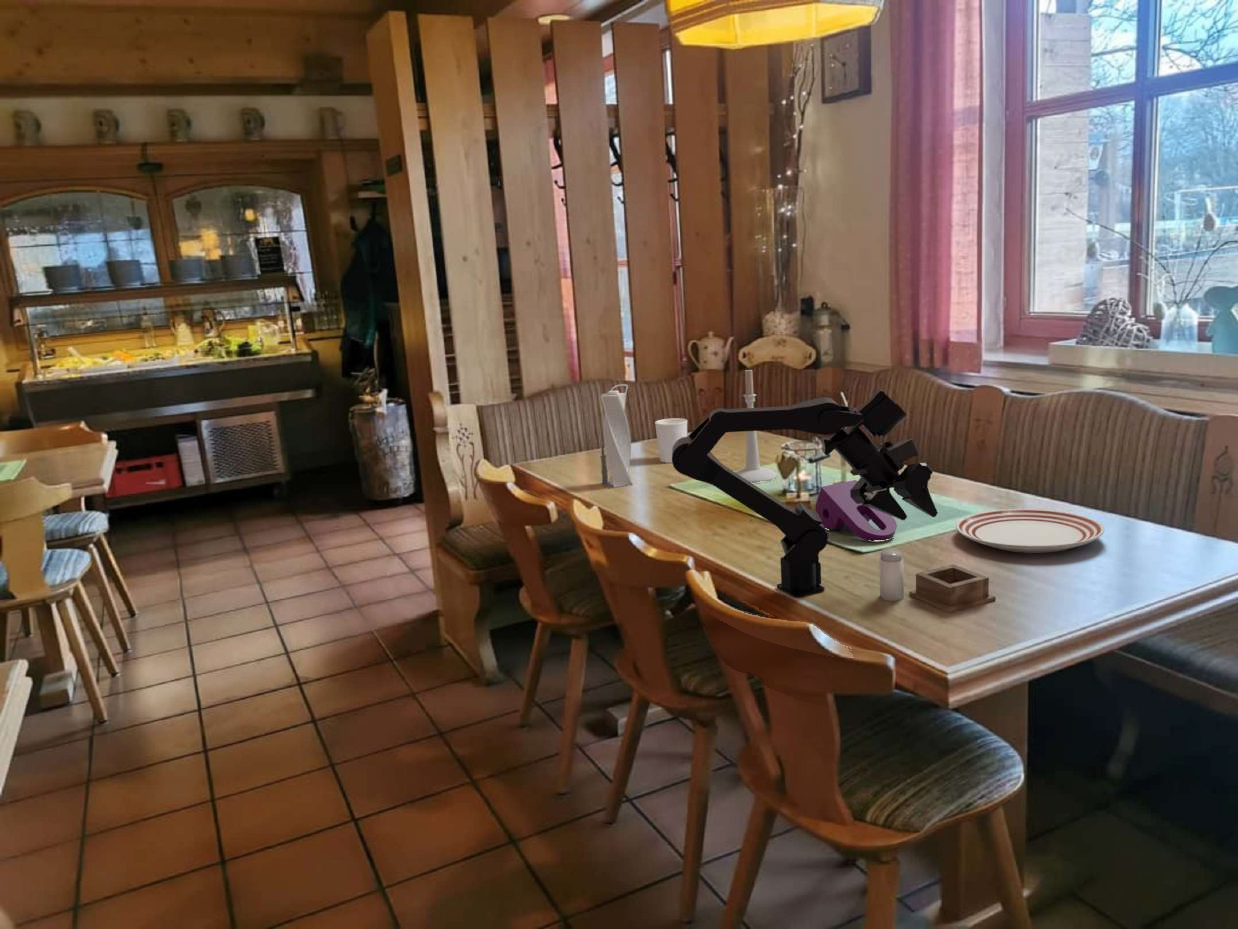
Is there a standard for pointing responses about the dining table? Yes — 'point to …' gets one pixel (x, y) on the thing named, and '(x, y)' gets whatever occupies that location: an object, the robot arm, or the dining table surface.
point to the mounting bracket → (852, 513)
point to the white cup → (669, 436)
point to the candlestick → (753, 443)
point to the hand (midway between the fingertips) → (920, 517)
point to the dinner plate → (1030, 530)
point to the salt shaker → (891, 575)
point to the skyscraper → (616, 440)
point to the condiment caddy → (952, 588)
